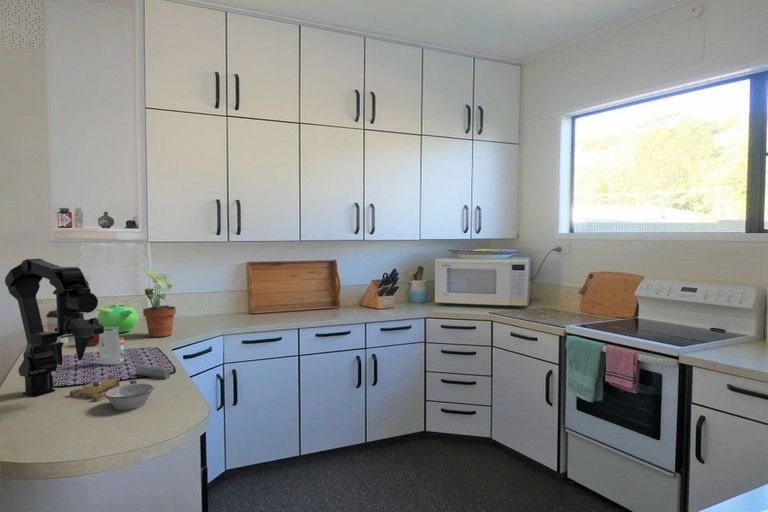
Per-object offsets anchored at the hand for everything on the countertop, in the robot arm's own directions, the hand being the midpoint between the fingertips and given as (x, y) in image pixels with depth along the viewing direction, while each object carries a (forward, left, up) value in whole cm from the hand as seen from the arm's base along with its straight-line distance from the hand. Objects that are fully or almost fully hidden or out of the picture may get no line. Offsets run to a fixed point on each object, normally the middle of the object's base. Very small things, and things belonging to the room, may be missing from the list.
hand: (70, 362), depth 149 cm
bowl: (+5, -18, -12) cm, 22 cm away
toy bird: (+75, +78, -12) cm, 109 cm away
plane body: (+10, 0, -12) cm, 16 cm away
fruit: (+52, +64, -12) cm, 84 cm away
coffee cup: (+49, +82, -12) cm, 97 cm away
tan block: (+9, 0, -12) cm, 16 cm away
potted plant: (+78, +52, -12) cm, 95 cm away
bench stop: (+29, 0, -12) cm, 31 cm away
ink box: (+34, +28, -12) cm, 46 cm away
